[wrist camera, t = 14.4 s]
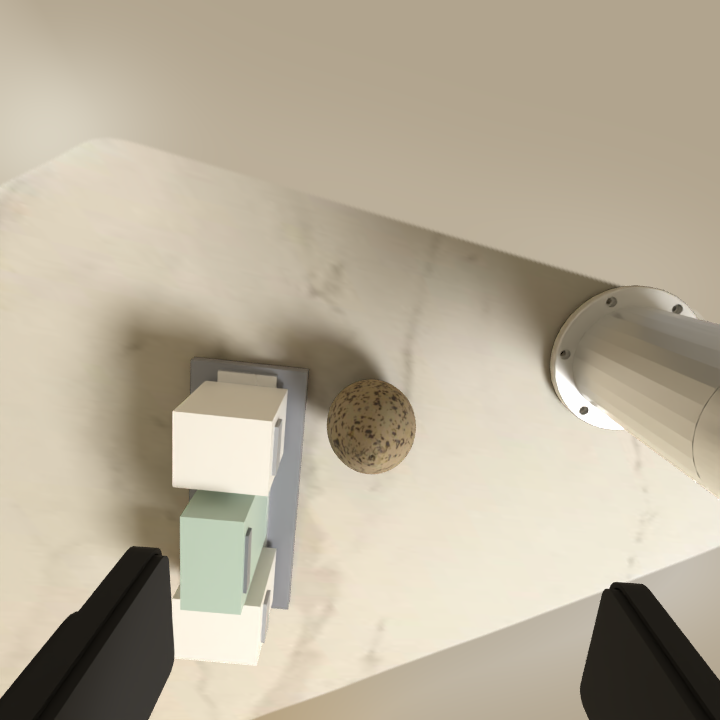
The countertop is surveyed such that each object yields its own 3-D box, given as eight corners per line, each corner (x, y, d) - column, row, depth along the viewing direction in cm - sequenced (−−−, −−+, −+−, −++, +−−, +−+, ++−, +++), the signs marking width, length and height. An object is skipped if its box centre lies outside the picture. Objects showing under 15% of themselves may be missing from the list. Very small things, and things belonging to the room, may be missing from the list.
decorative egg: (314, 408, 41) (299, 461, 31) (367, 351, 40) (368, 388, 30) (373, 456, 42) (376, 521, 33) (426, 402, 41) (446, 454, 31)
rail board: (308, 368, 40) (294, 403, 32) (289, 601, 46) (273, 681, 38) (194, 356, 40) (150, 388, 31) (191, 592, 46) (154, 670, 38)
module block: (272, 461, 41) (247, 522, 32) (268, 538, 43) (244, 615, 34) (219, 456, 40) (179, 516, 32) (217, 533, 43) (180, 609, 34)
